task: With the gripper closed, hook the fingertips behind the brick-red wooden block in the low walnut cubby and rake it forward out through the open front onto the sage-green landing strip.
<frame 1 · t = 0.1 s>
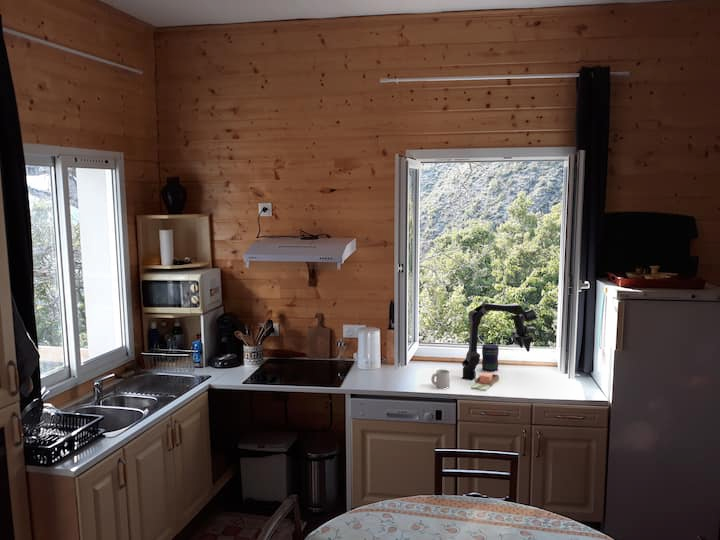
hand: (525, 349, 356), 15 cm above the countertop, tool pointing down, fingers open, 9 cm apart
bay: (487, 382, 344), on the countertop
cup: (440, 387, 337), on the countertop
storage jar: (489, 370, 370), on the countertop
block: (486, 381, 342), point 1 cm above the countertop, touching bay
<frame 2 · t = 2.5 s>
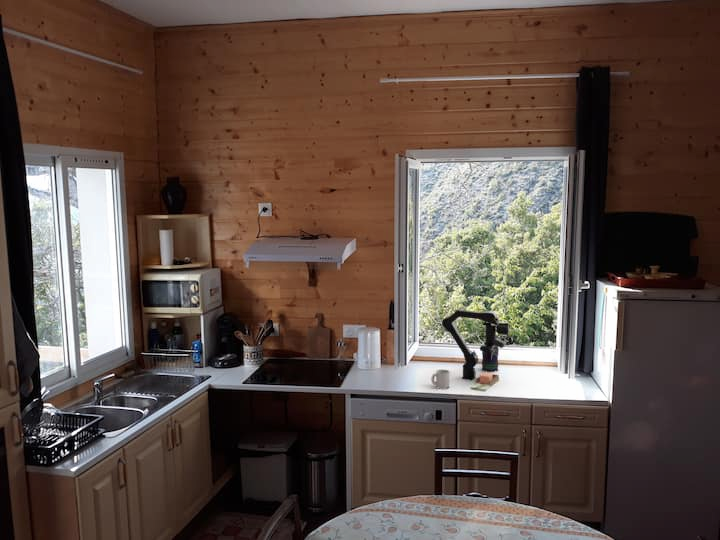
hand: (490, 360, 347), 12 cm above the countertop, tool pointing down, fingers closed
nothing on the countertop moved.
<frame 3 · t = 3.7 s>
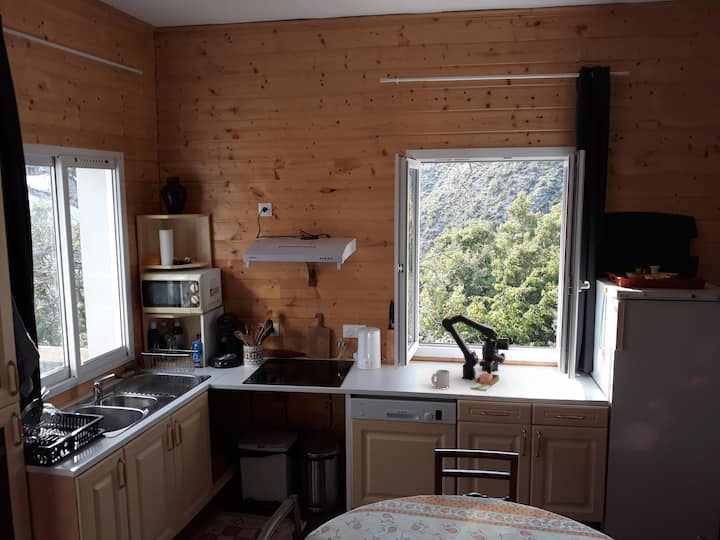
hand: (489, 375, 348), 3 cm above the countertop, tool pointing down, fingers closed
nothing on the countertop moved.
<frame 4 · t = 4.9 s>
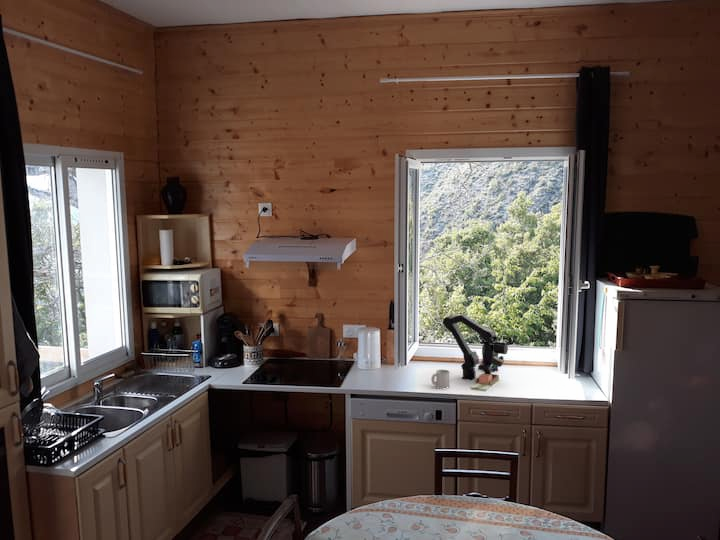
hand: (488, 378, 346), 2 cm above the countertop, tool pointing down, fingers closed
block: (485, 382, 341), point 1 cm above the countertop, touching gripper
everything else where it was.
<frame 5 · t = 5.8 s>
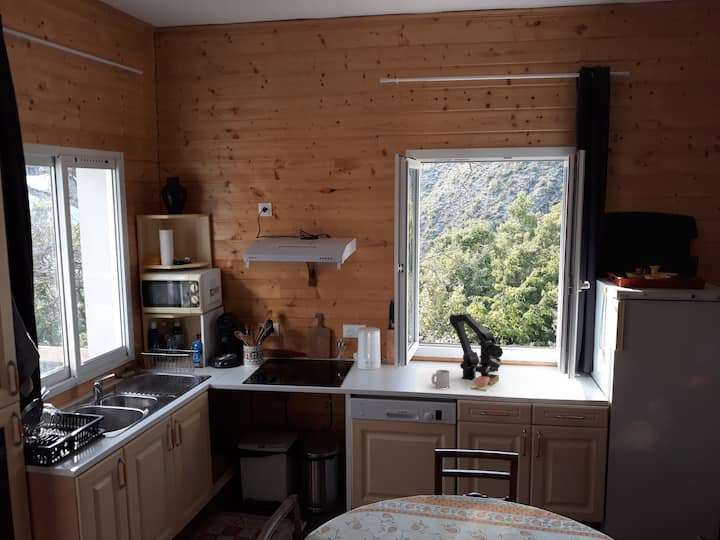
hand: (485, 380, 341), 2 cm above the countertop, tool pointing down, fingers closed
block: (482, 384, 337), point 1 cm above the countertop, touching gripper
everything else where it was.
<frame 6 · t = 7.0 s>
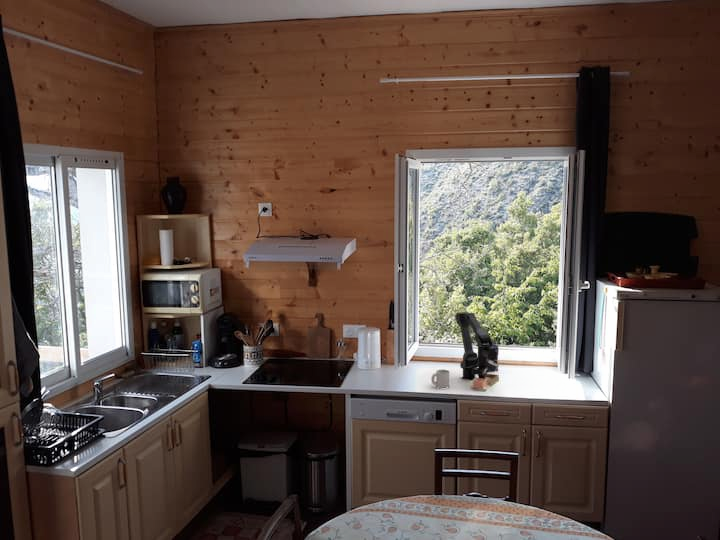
hand: (482, 383, 337), 2 cm above the countertop, tool pointing down, fingers closed
block: (479, 386, 333), point 1 cm above the countertop, touching bay, gripper
everything else where it was.
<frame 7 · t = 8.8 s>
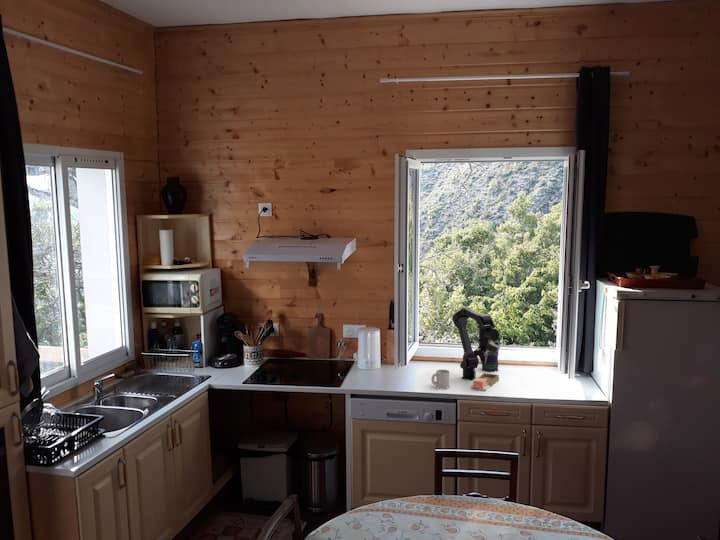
hand: (483, 364, 337), 12 cm above the countertop, tool pointing down, fingers closed
block: (479, 386, 333), point 1 cm above the countertop, touching bay
everything else where it was.
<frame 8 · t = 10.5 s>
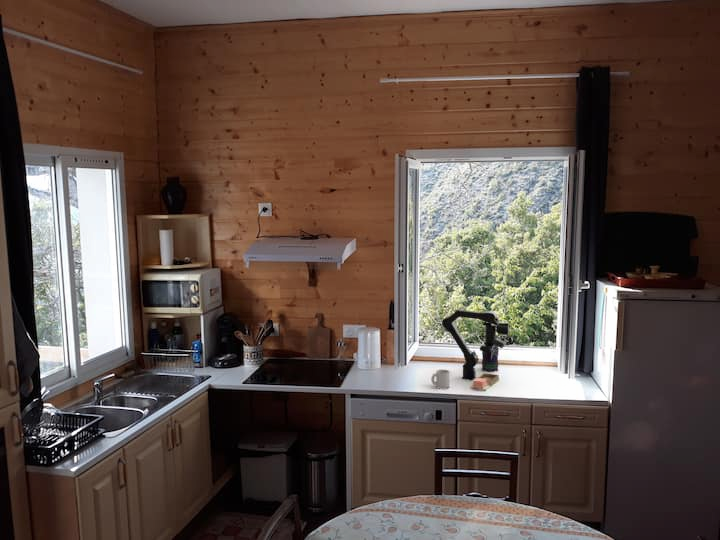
hand: (490, 360, 347), 12 cm above the countertop, tool pointing down, fingers closed
nothing on the countertop moved.
at the end: block inside the target area (0.5 cm from its centre), point 1.0 cm above the countertop; block tilted 0°; the gripper is holding nothing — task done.
